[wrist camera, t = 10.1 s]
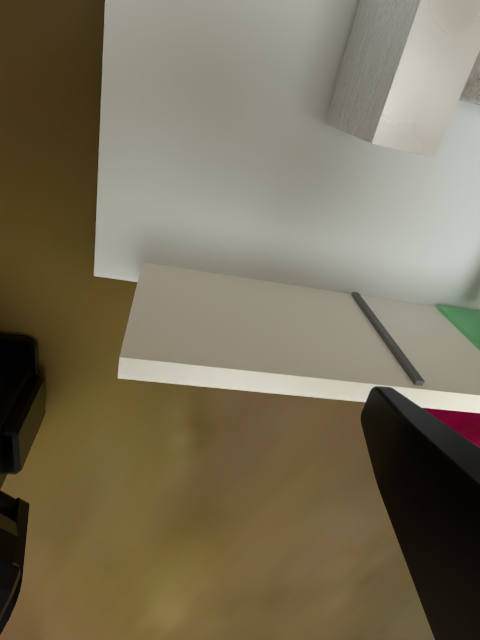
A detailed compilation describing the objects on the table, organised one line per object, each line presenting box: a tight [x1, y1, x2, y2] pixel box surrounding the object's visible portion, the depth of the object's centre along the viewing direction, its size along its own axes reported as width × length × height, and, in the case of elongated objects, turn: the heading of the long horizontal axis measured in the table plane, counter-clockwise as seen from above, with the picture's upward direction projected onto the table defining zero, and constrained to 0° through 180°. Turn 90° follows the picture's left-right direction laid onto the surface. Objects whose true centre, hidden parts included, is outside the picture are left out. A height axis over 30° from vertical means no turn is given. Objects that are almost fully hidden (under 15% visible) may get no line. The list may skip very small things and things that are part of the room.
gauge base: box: [94, 0, 480, 413], centre depth 15 cm, size 26×13×8 cm, turn 78°
